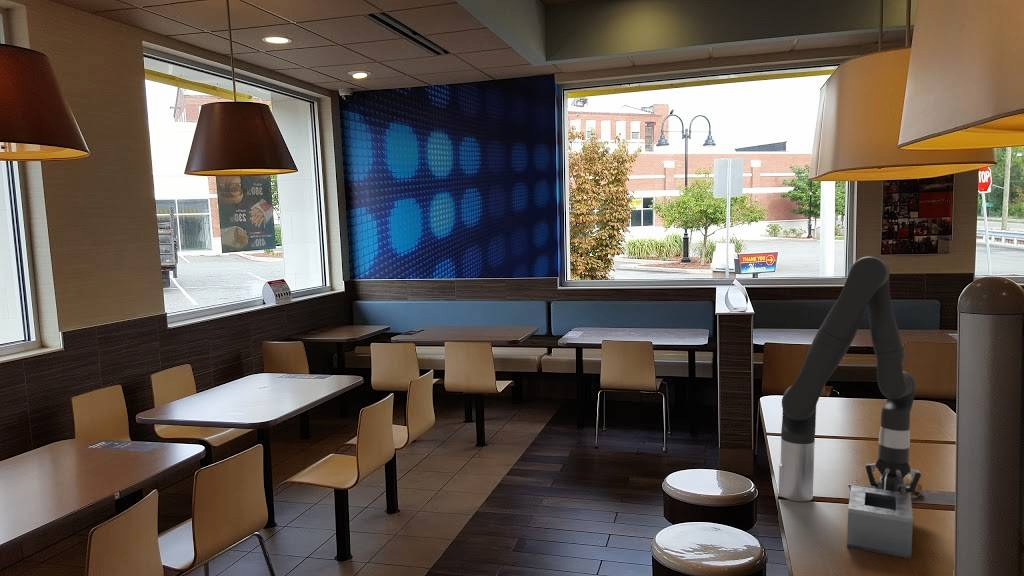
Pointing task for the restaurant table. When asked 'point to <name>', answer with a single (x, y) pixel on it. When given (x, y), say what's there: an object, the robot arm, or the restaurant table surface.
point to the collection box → (880, 521)
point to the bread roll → (917, 490)
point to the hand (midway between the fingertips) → (891, 503)
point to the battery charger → (890, 483)
